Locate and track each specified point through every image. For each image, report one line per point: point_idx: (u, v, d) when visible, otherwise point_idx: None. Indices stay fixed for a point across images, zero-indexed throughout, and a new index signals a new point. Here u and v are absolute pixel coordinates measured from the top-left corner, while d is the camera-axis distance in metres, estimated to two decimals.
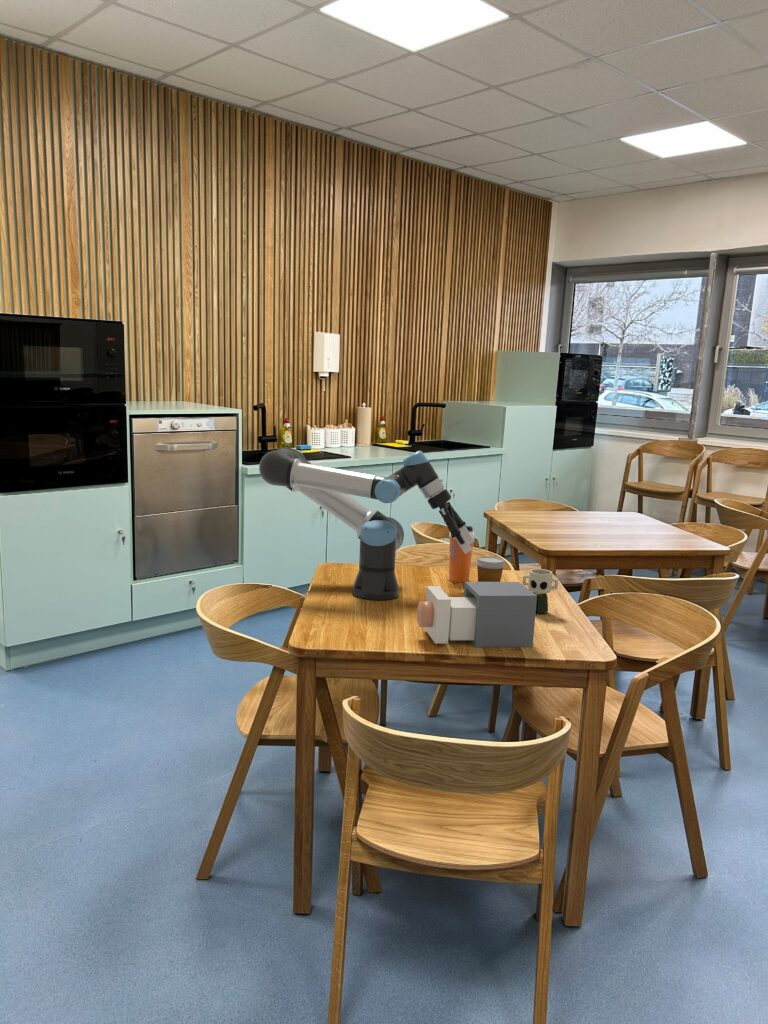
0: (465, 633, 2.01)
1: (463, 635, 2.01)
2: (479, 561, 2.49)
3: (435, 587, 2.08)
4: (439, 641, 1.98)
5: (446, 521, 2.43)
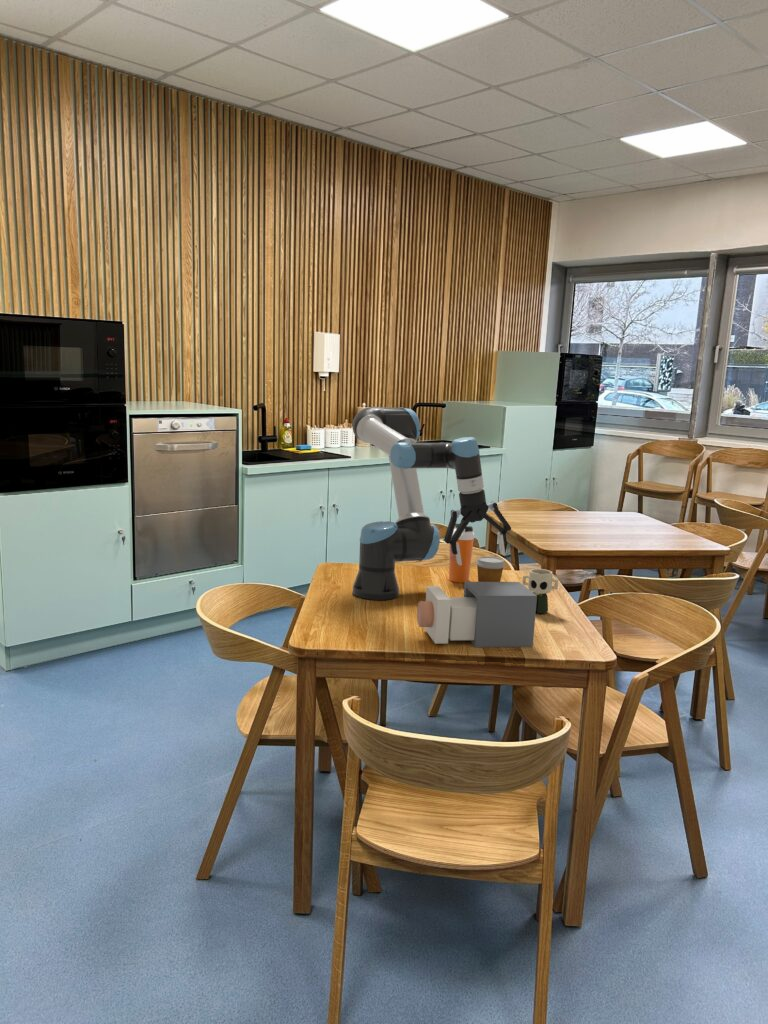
0: (465, 633, 2.01)
1: (463, 635, 2.01)
2: (479, 561, 2.49)
3: (435, 587, 2.08)
4: (439, 641, 1.98)
5: (449, 524, 2.22)
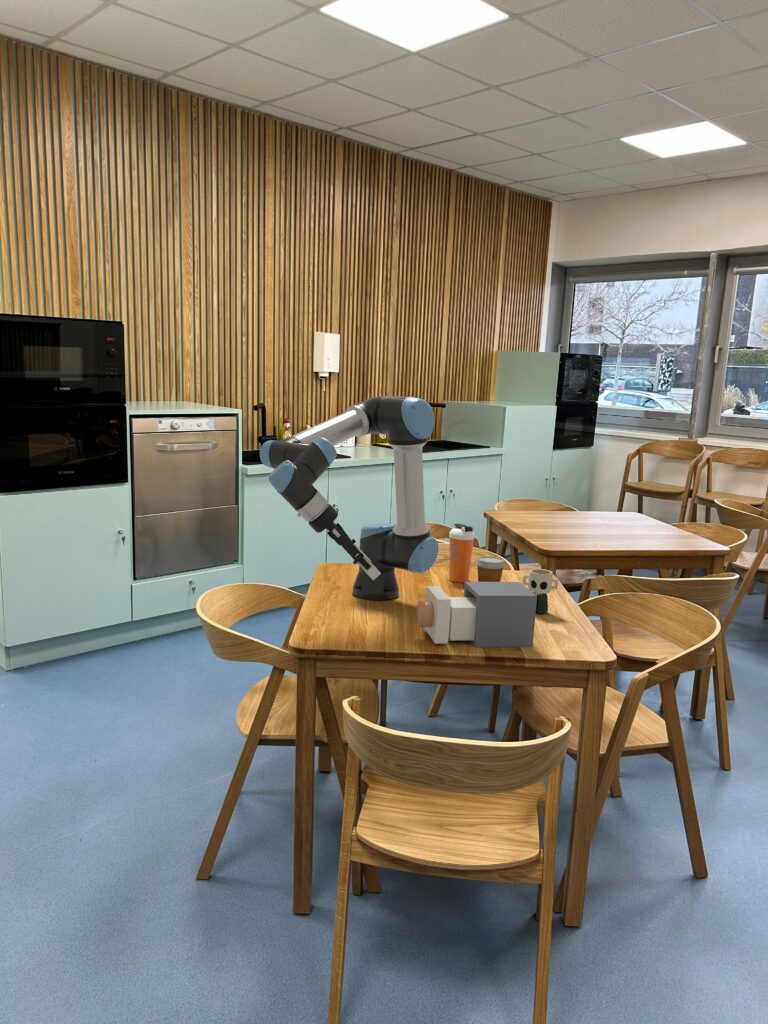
0: (465, 633, 2.01)
1: (463, 635, 2.01)
2: (479, 561, 2.49)
3: (435, 587, 2.08)
4: (439, 641, 1.98)
5: None
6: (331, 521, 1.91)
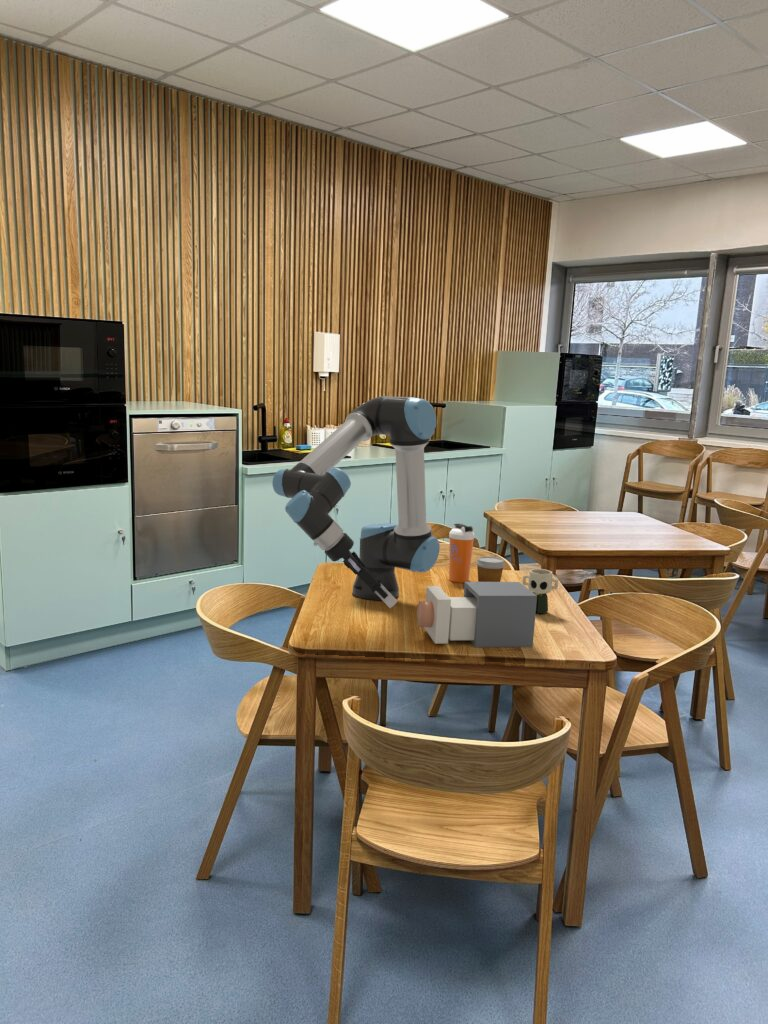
0: (465, 633, 2.01)
1: (463, 635, 2.01)
2: (479, 561, 2.49)
3: (435, 587, 2.08)
4: (439, 641, 1.98)
5: None
6: (347, 550, 1.92)
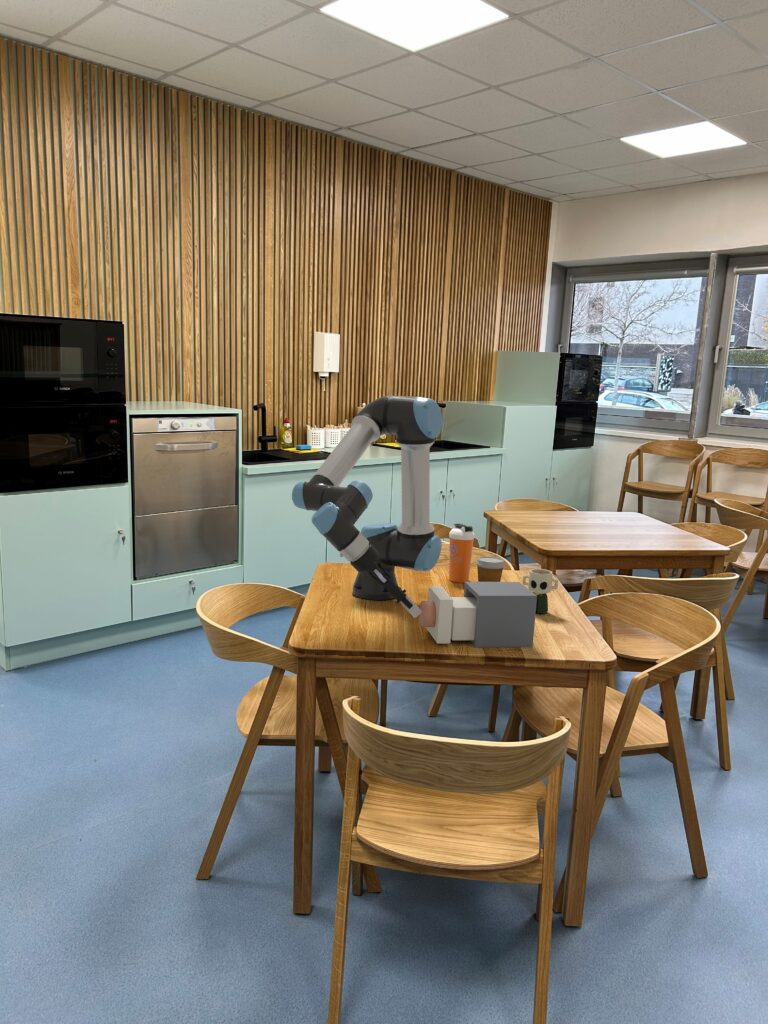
0: (467, 633, 2.01)
1: (466, 635, 2.01)
2: (479, 561, 2.49)
3: (437, 587, 2.08)
4: (442, 641, 1.99)
5: None
6: (373, 562, 1.94)
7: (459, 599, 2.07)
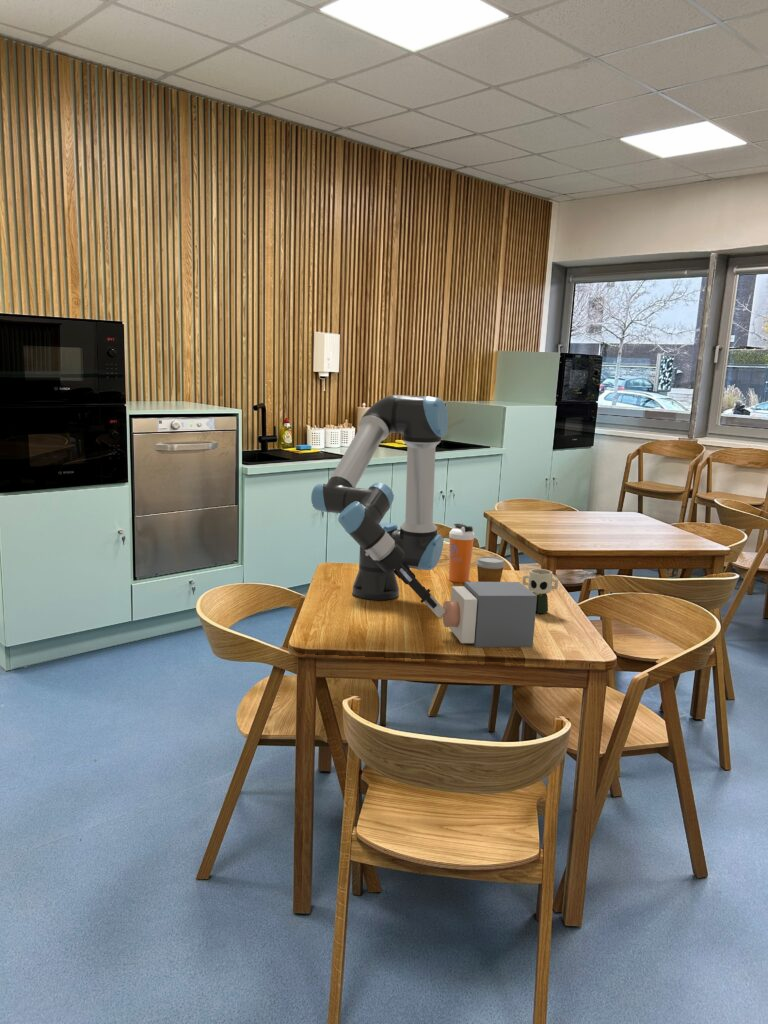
0: None
1: None
2: (479, 561, 2.49)
3: (460, 587, 2.09)
4: (466, 641, 2.00)
5: None
6: (398, 561, 1.96)
7: None
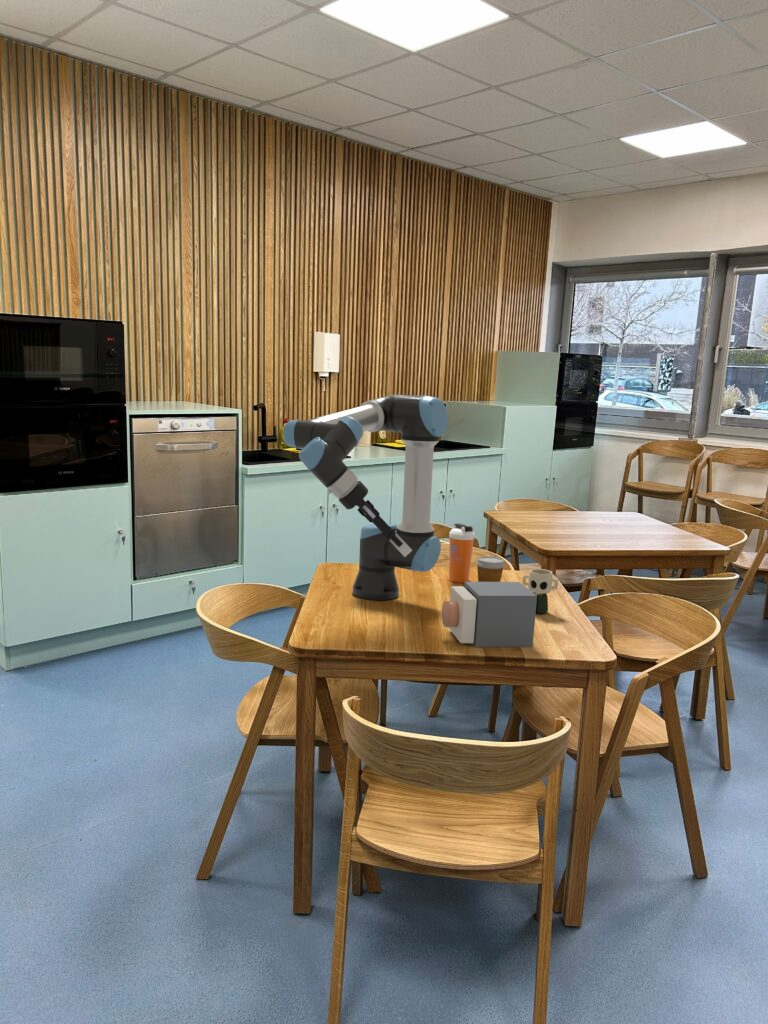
0: None
1: None
2: (479, 561, 2.49)
3: (460, 587, 2.09)
4: (465, 641, 2.00)
5: None
6: (361, 498, 1.91)
7: None
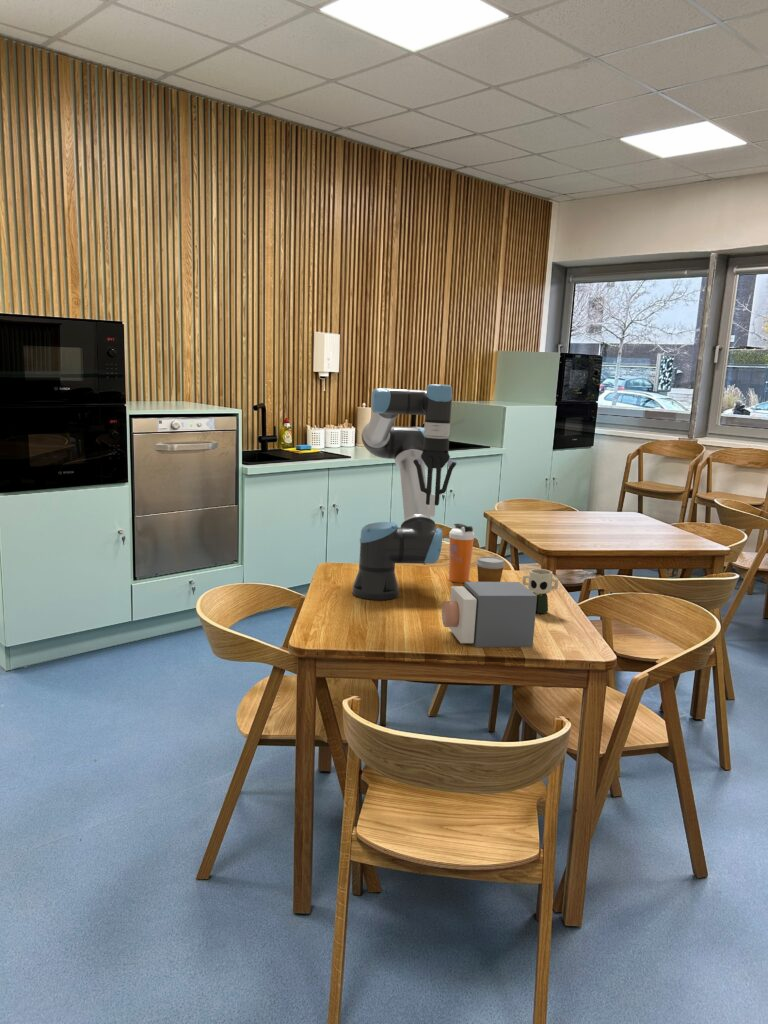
0: None
1: None
2: (479, 561, 2.49)
3: (460, 587, 2.09)
4: (465, 641, 2.00)
5: None
6: None
7: None
